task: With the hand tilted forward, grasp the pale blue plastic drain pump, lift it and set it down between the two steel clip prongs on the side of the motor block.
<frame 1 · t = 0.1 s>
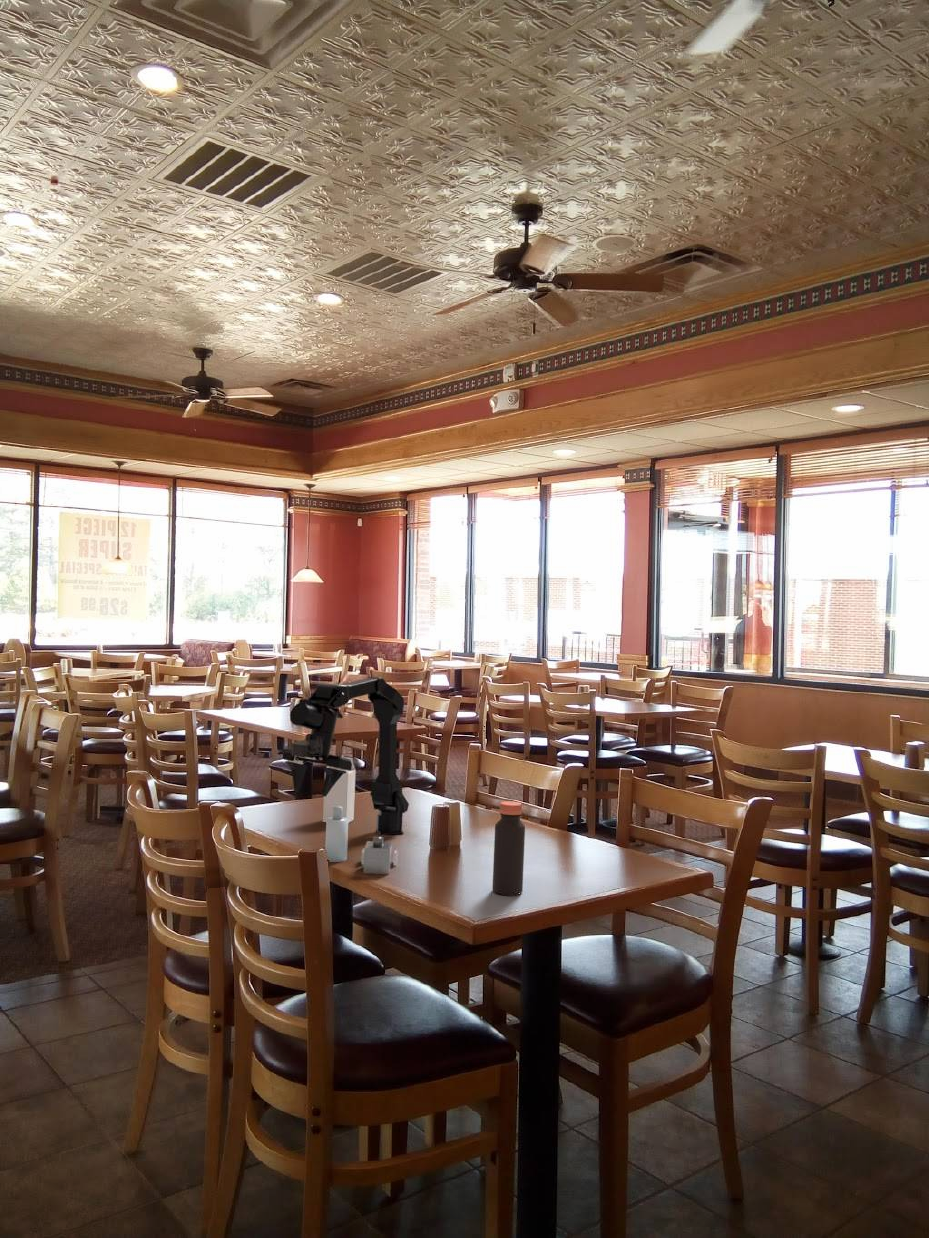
hand: (309, 793, 240), 15 cm above the table, tool pointing down, fingers open, 9 cm apart
motor: (379, 862, 236), on the table
milk carton: (338, 822, 280), on the table
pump: (335, 859, 237), on the table
bottle: (507, 892, 215), on the table
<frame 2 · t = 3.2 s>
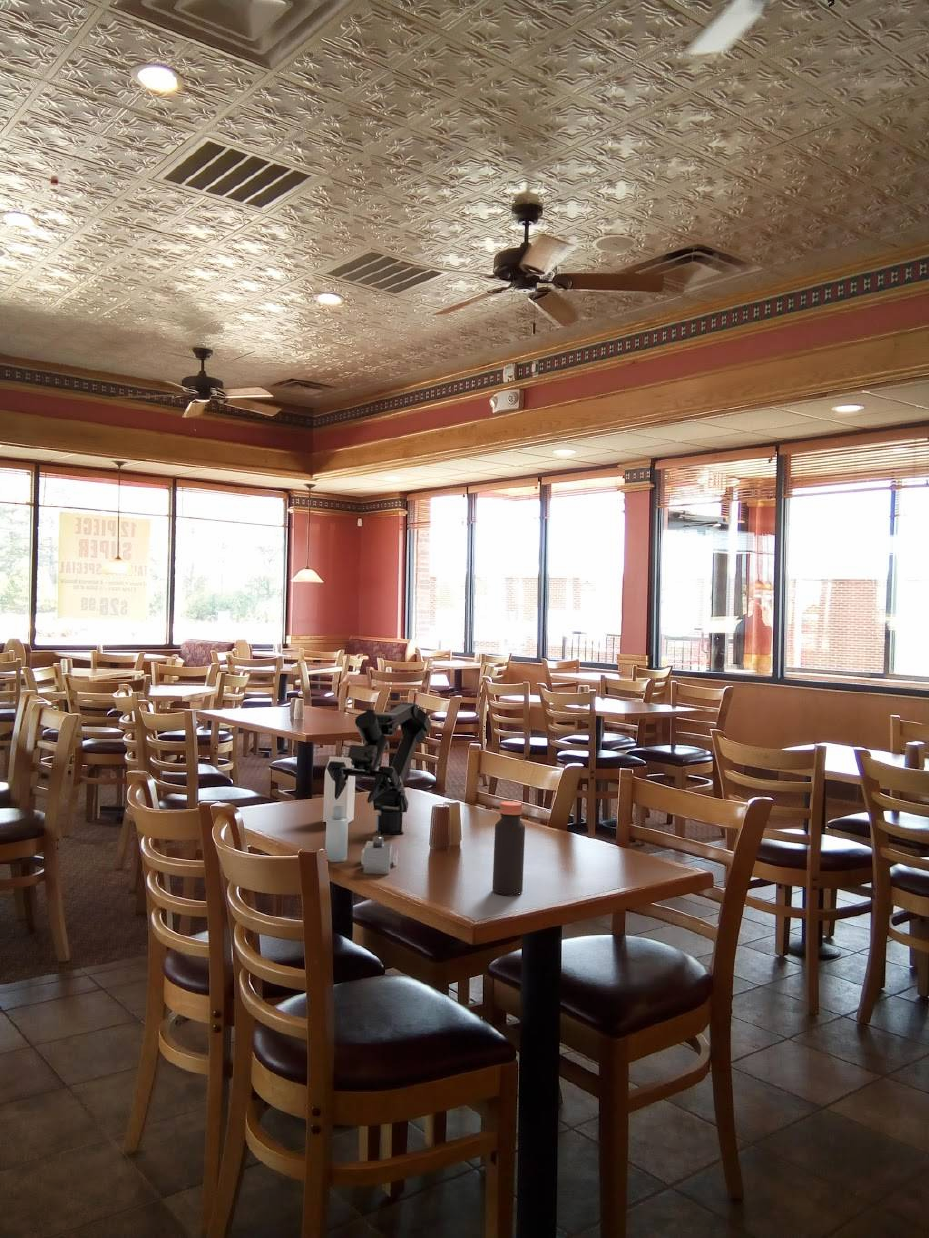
hand: (351, 800, 245), 13 cm above the table, tool tilted 45°, fingers open, 9 cm apart
nothing on the table moved.
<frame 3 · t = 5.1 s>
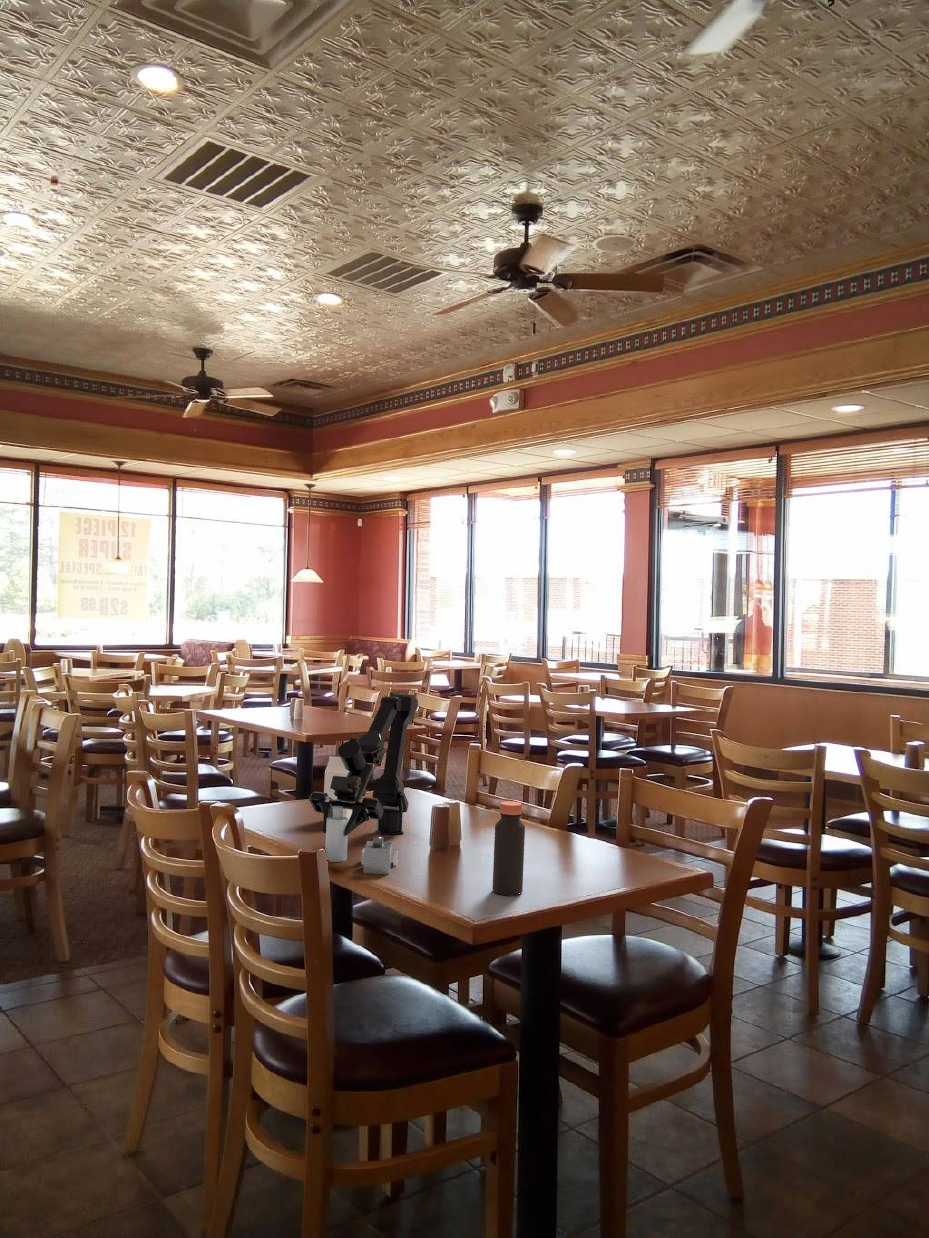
hand: (334, 833, 236), 7 cm above the table, tool tilted 45°, fingers closed on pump, 5 cm apart
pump: (335, 859, 237), on the table, touching gripper
everything else where it was.
when the fingers open (8 cm above the table, at t = 8.4 s): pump drops 1 cm, on the table.
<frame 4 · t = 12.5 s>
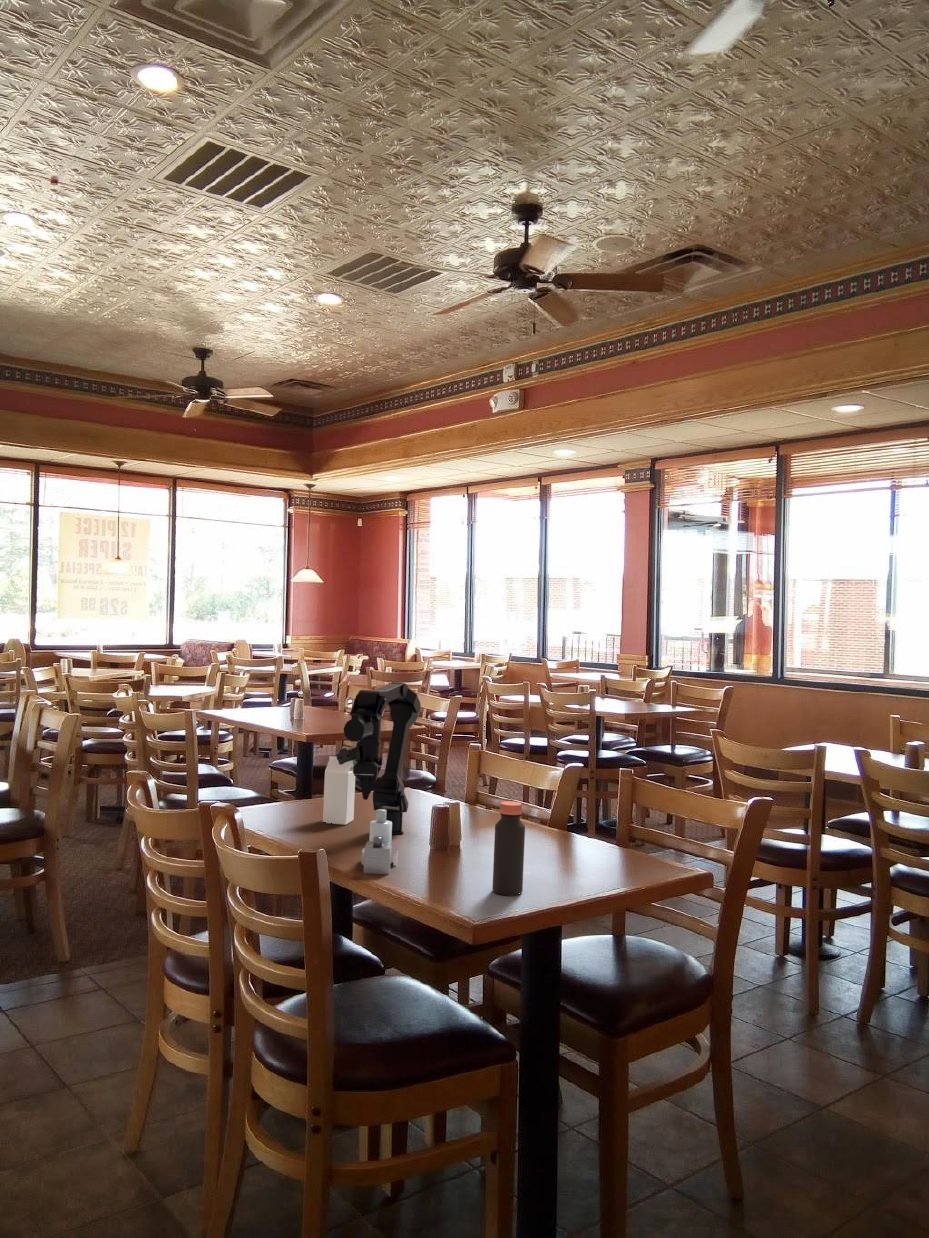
hand: (366, 796, 253), 13 cm above the table, tool pointing down, fingers open, 9 cm apart
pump: (379, 862, 236), on the table
everything else where it was.
at the end: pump 0.1 cm off-centre on the motor, point 0.0 cm above the motor's base; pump tilted 0°; the gripper is holding nothing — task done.
